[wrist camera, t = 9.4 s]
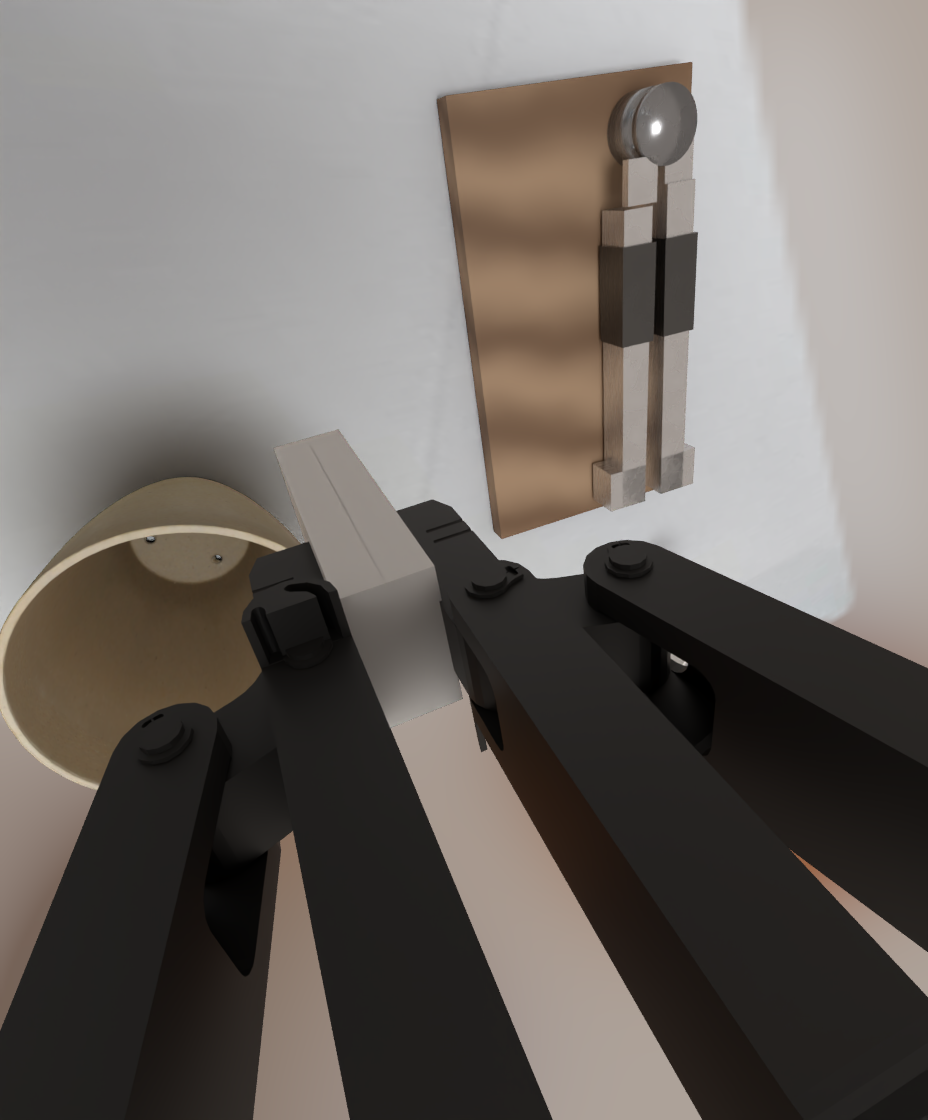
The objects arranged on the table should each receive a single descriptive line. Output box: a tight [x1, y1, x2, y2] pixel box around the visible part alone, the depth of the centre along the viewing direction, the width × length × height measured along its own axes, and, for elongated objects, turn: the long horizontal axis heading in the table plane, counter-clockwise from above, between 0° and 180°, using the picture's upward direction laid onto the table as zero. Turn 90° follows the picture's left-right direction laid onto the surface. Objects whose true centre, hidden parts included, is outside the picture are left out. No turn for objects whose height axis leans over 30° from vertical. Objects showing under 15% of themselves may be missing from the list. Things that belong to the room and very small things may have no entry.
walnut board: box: [437, 62, 692, 539], centre depth 45 cm, size 28×16×2 cm, turn 8°
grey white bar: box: [607, 85, 698, 494], centre depth 44 cm, size 26×6×3 cm, turn 8°
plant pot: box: [0, 477, 300, 790], centre depth 35 cm, size 15×15×16 cm
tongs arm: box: [593, 82, 697, 511], centre depth 43 cm, size 26×6×3 cm, turn 7°
